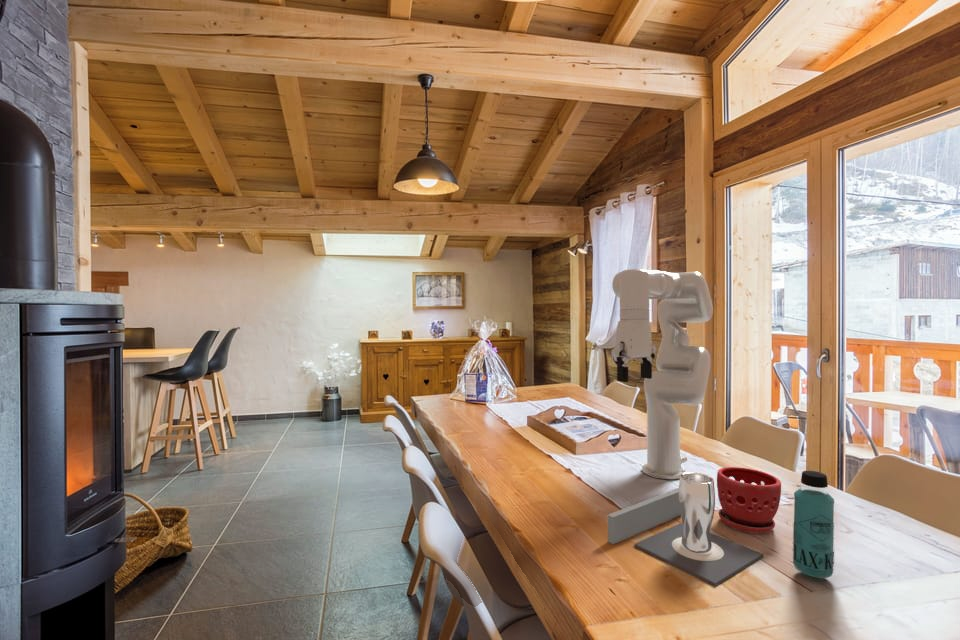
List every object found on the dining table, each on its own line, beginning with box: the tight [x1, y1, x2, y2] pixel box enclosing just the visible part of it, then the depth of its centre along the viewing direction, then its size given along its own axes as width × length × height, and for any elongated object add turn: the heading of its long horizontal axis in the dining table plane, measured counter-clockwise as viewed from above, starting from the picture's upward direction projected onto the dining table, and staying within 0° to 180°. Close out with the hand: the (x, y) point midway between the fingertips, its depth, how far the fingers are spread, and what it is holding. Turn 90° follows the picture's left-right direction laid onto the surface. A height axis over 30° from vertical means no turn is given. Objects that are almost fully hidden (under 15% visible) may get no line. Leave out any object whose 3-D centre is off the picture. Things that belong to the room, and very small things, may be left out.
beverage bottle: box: [792, 470, 835, 579], centre depth 90 cm, size 6×7×20 cm
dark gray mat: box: [634, 522, 764, 587], centre depth 100 cm, size 18×18×1 cm
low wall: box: [607, 487, 681, 545], centre depth 112 cm, size 28×2×6 cm, turn 124°
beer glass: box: [678, 471, 716, 555], centre depth 100 cm, size 7×7×15 cm
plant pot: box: [716, 466, 782, 534], centre depth 111 cm, size 13×13×12 cm
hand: (634, 379), depth 127 cm, fingers open, 9 cm apart
